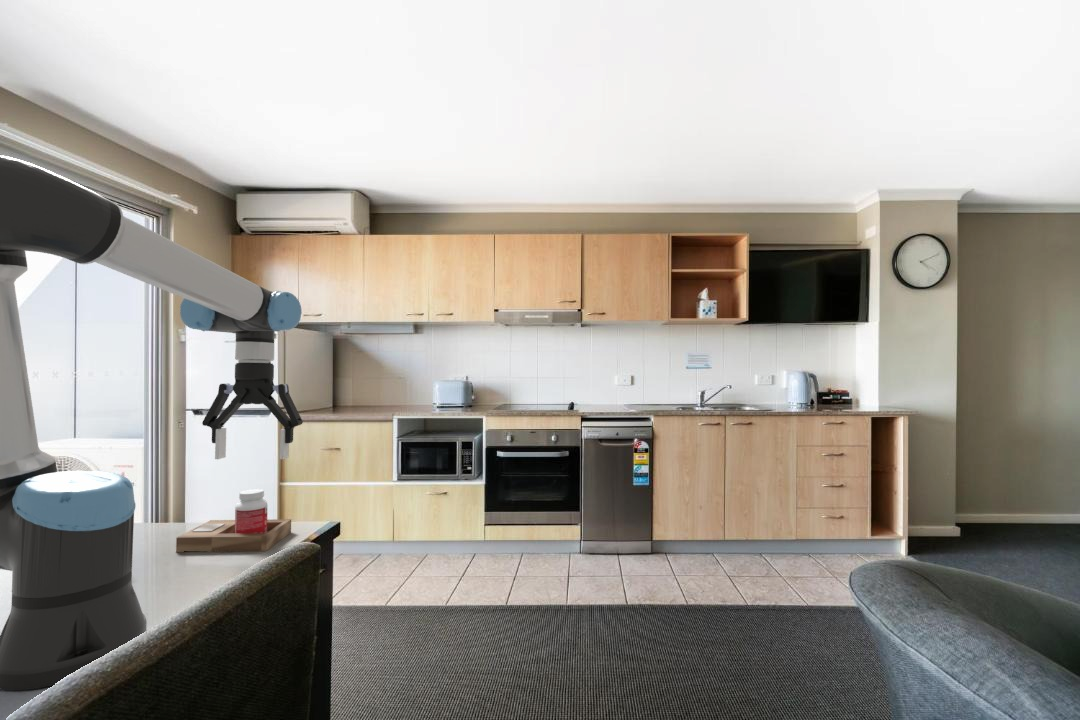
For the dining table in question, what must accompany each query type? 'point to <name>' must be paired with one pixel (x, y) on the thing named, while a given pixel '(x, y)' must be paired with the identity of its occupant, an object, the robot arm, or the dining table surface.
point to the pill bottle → (251, 512)
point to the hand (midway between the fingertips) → (252, 458)
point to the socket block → (231, 537)
